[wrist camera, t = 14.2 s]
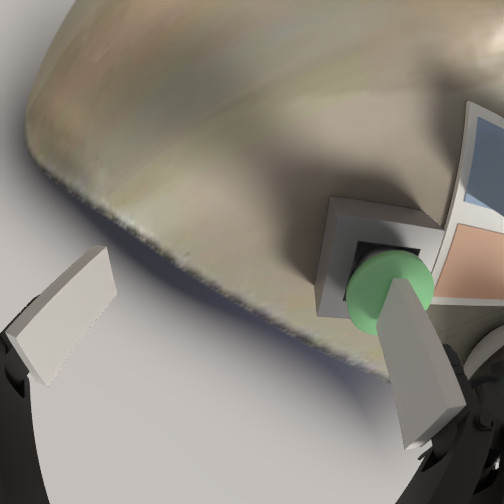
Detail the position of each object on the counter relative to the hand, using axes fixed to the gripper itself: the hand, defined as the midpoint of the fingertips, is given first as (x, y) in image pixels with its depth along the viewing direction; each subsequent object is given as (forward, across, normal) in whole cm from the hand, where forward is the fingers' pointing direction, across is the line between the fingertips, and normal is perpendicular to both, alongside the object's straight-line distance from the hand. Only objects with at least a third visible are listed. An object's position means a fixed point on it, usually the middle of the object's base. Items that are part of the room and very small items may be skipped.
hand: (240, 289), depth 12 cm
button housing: (+5, +7, 0) cm, 9 cm away
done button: (+3, +7, 0) cm, 8 cm away
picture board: (+5, +18, +4) cm, 19 cm away
